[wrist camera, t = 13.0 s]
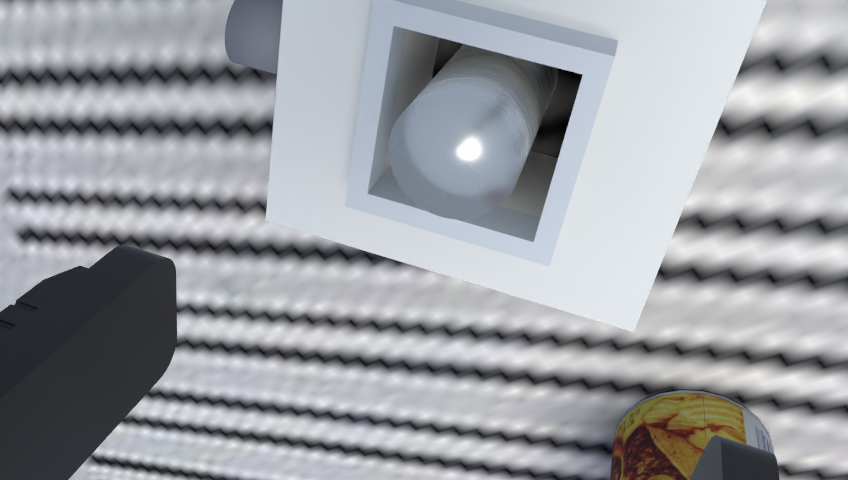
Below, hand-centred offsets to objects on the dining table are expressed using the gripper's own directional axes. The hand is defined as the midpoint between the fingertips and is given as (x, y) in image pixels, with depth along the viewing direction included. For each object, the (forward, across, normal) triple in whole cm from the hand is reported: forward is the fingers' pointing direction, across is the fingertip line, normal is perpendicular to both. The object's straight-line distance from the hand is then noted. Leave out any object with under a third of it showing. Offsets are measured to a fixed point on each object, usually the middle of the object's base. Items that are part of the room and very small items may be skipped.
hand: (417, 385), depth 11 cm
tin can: (+24, +3, +4) cm, 25 cm away
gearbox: (+24, +4, +3) cm, 25 cm away
